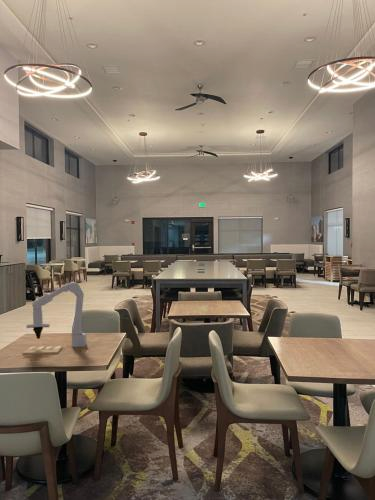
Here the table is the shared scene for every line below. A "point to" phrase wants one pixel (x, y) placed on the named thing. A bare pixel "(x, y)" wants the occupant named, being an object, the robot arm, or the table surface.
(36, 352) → the floor base
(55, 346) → the plank
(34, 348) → the plank
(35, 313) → the robot arm
